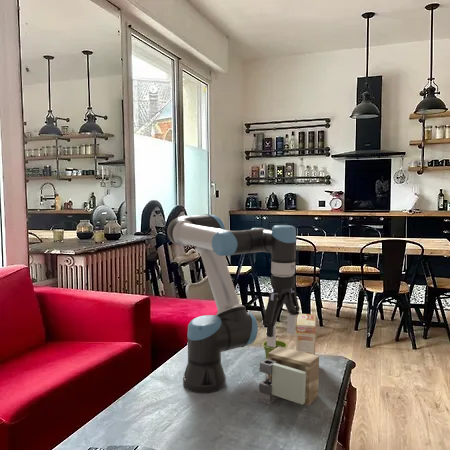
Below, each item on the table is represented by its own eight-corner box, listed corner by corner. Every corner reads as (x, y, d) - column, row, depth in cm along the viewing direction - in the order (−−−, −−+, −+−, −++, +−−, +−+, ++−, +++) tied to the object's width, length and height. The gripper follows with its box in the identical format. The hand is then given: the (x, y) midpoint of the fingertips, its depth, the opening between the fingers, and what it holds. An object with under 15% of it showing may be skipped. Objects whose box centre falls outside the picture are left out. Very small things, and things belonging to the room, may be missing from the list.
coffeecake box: (314, 378, 165) (315, 326, 163) (294, 376, 166) (295, 324, 165) (314, 362, 180) (315, 314, 178) (296, 360, 181) (297, 313, 179)
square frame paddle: (259, 392, 147) (259, 362, 146) (265, 387, 151) (266, 358, 150) (300, 406, 139) (301, 375, 138) (306, 401, 142) (307, 370, 141)
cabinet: (257, 400, 148) (258, 358, 147) (277, 384, 160) (278, 346, 158) (300, 413, 140) (301, 370, 138) (318, 396, 151) (319, 355, 150)
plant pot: (270, 359, 183) (270, 338, 182) (291, 364, 177) (291, 343, 176) (258, 366, 175) (258, 345, 174) (279, 372, 170) (279, 350, 169)
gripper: (274, 283, 130) (272, 354, 132) (310, 269, 150) (308, 331, 153) (252, 280, 134) (251, 349, 136) (290, 266, 155) (288, 326, 157)
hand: (281, 339), depth 145 cm, fingers open, 13 cm apart
